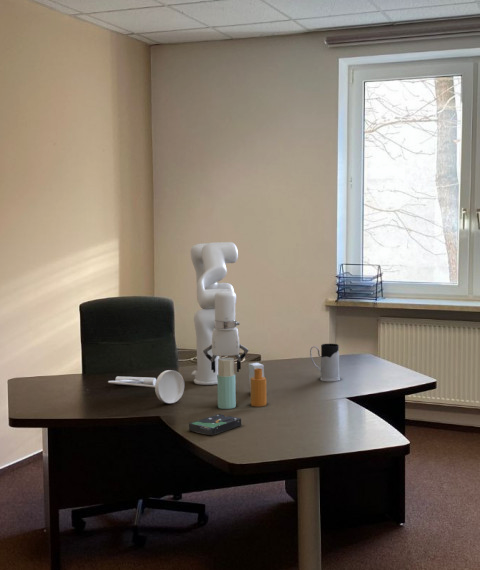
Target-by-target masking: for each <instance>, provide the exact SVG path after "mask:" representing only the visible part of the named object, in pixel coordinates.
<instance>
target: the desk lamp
mask: <svg viewBox="0 0 480 570" xmlns="http://www.w3.org/2000/svg"><path fill="white" fill-rule="evenodd" d="M107 383H108V384H114V385H118V386H119V385H120V386H134V387H135V386H136V387H146V388H154V392H155V395H156V397H157V399H158V400H159V401H161V402H162V403H165V404H175V403H176V402H178V401H179V400H180V399H182V396H183V394H184V391H185V380H184V378H183V375H182V374H181V373H180V372H178V371H177V370H173V369H172V370H171V369H170V370H169V369H168V370H164V371H162V372H160V374H159V375H158V376H157V378H156V377H144V376H143V377H142V376H118V375H117V376H116V377H115V380H108V381H107Z"/></svg>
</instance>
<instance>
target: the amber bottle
mask: <svg viewBox="0 0 480 570" xmlns="http://www.w3.org/2000/svg"><path fill="white" fill-rule="evenodd" d="M250 383H251V393H250V406H252V407H257V408H258V407H264V406H267V378H266V377H265V376H264V377H262V369H260V368H257V369H254V377H252V378H250ZM250 383H249V384H250Z"/></svg>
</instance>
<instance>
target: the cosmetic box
mask: <svg viewBox="0 0 480 570" xmlns="http://www.w3.org/2000/svg"><path fill="white" fill-rule="evenodd" d="M257 368H260V369H262V377H265V369H264V368H265V367H264V364H262V363H259V362H251V363H248V379H249V394H251V383H250V378H252V377H254V369H257Z"/></svg>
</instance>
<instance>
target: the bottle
mask: <svg viewBox="0 0 480 570" xmlns="http://www.w3.org/2000/svg"><path fill="white" fill-rule="evenodd" d="M216 385H217V386H216V387H217V391H216V392H217V408H218V409H221V410H231V409H234V408H236V406H237V399H236V396H237V395H236V393H237V392H236V391H237V390H236V373H234V376H229V377H222V376H218V375H217V384H216Z"/></svg>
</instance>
